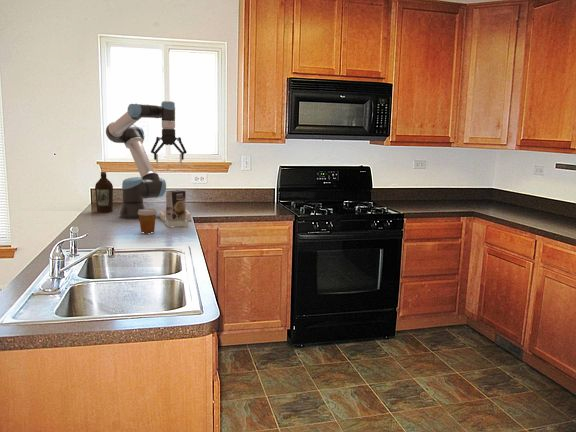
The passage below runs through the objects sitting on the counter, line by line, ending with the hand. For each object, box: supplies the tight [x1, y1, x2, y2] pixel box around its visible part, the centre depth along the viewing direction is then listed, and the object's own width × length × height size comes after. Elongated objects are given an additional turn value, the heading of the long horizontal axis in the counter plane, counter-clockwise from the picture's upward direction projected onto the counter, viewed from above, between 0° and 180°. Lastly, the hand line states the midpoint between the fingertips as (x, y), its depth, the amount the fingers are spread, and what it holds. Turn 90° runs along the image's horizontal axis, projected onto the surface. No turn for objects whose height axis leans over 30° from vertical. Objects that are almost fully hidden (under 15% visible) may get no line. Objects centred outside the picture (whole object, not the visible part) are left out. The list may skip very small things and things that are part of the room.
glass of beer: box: [138, 208, 158, 233], centre depth 254 cm, size 10×10×12 cm
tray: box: [164, 218, 189, 228], centre depth 278 cm, size 11×14×3 cm
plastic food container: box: [158, 209, 192, 222], centre depth 296 cm, size 16×17×4 cm
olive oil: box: [94, 171, 114, 213], centre depth 312 cm, size 11×11×25 cm
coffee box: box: [165, 190, 187, 221], centre depth 276 cm, size 9×6×16 cm
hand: (169, 165), depth 289 cm, fingers open, 13 cm apart
